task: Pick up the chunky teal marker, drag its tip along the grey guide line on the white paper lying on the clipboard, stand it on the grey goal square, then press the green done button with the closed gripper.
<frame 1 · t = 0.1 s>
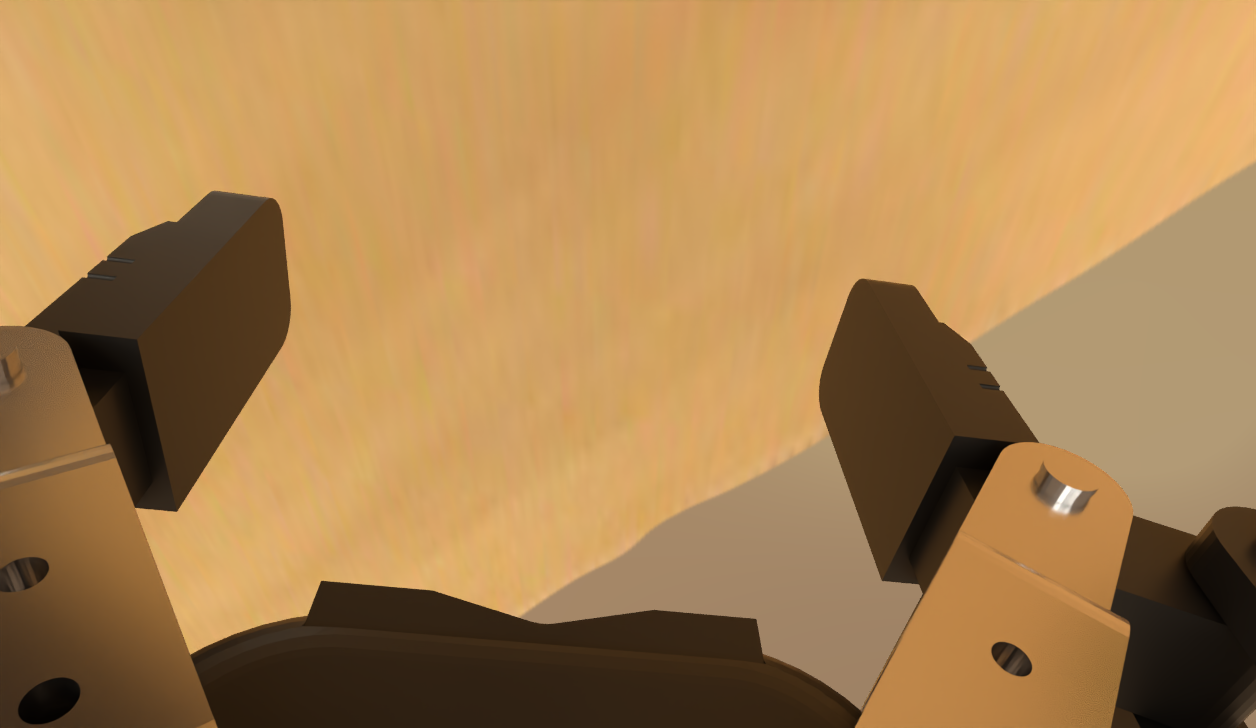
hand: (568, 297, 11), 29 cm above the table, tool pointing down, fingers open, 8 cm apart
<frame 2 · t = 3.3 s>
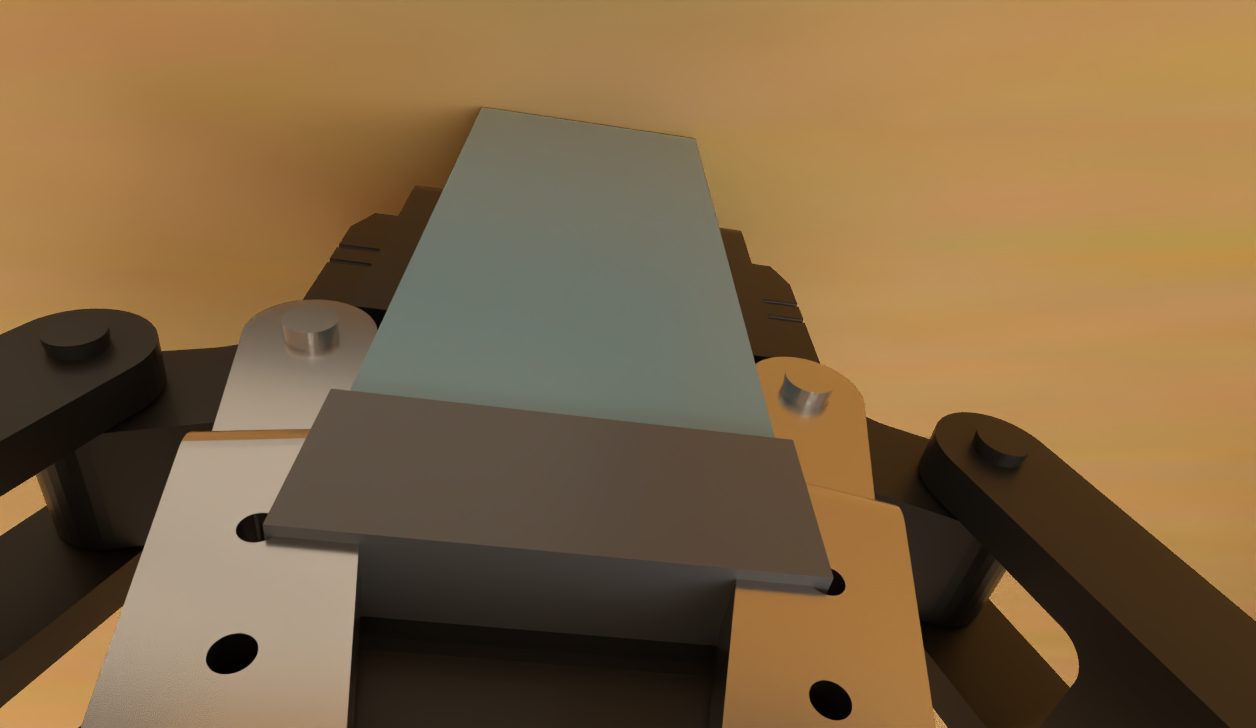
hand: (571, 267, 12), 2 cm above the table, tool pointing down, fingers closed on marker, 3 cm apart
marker: (577, 221, 13), on the table, touching gripper
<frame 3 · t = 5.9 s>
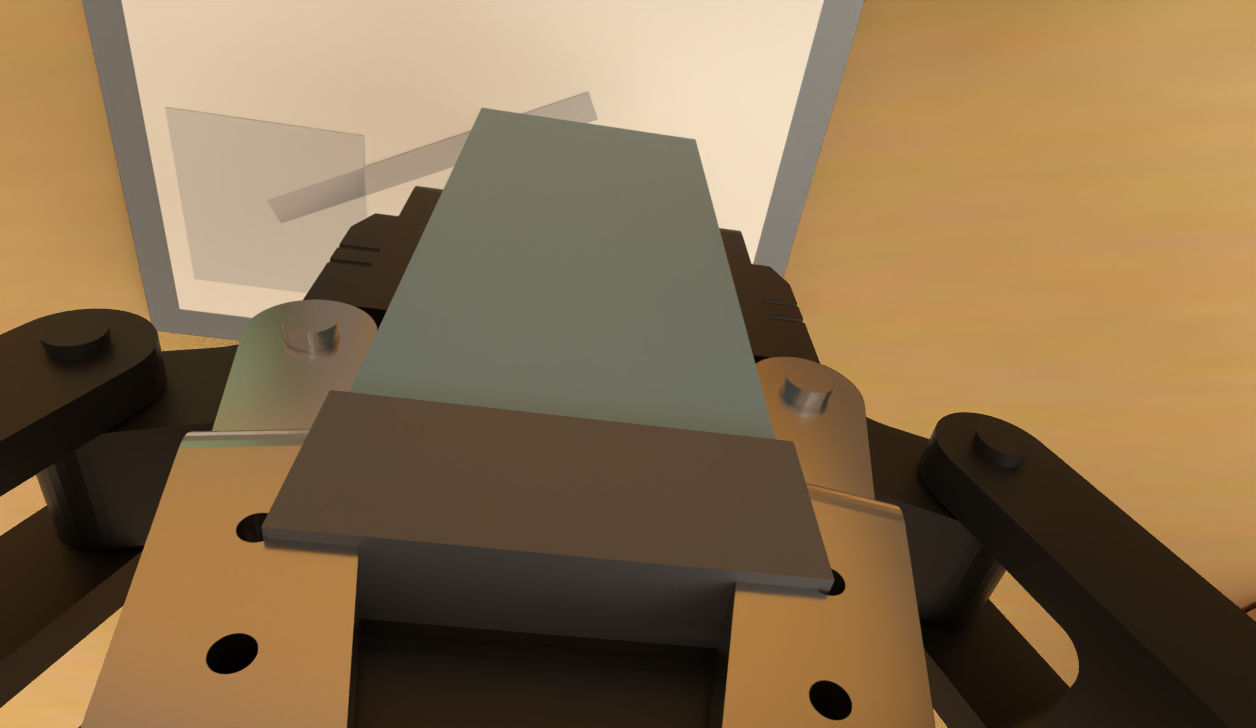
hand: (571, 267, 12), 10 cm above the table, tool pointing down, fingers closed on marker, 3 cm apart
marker: (577, 222, 13), point 9 cm above the table, touching gripper
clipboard: (474, 150, 21), on the table
when the fingers open (3 cm above the table, at t = 8.7 s): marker stays where it is, resting on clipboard.
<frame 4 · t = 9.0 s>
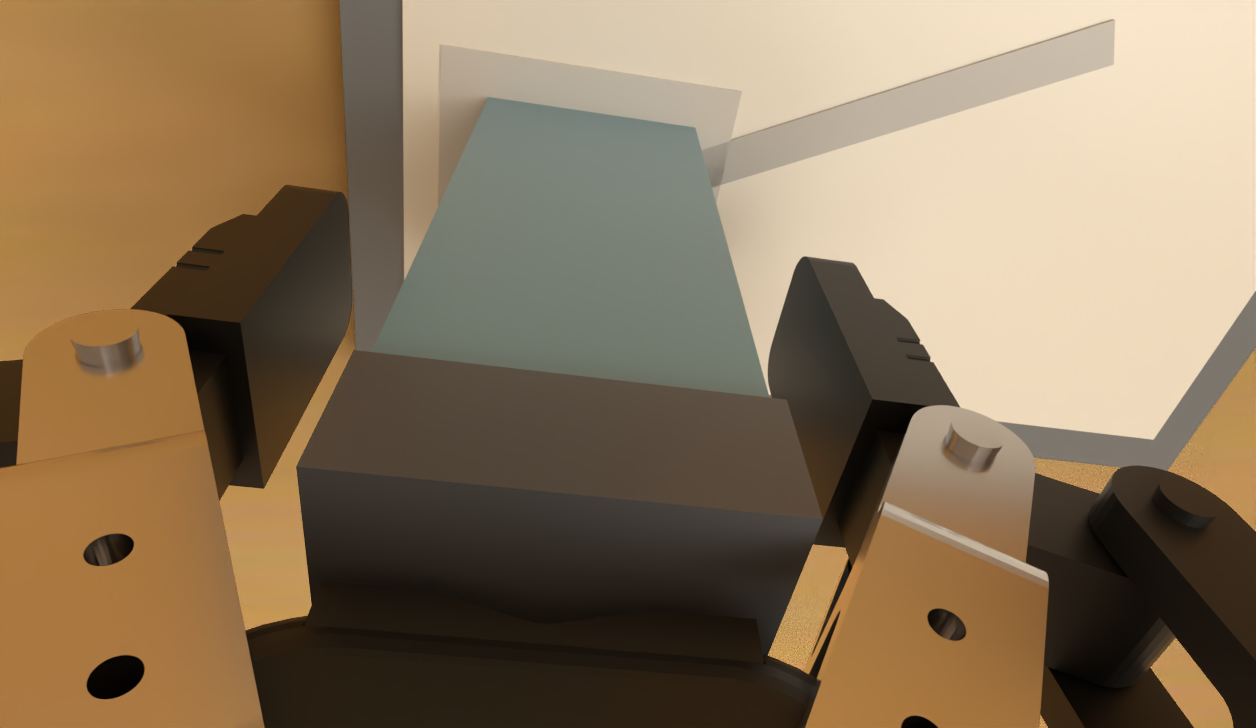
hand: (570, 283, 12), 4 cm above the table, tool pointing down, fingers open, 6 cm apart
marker: (581, 208, 14), point 1 cm above the table, touching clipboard
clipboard: (867, 116, 14), on the table
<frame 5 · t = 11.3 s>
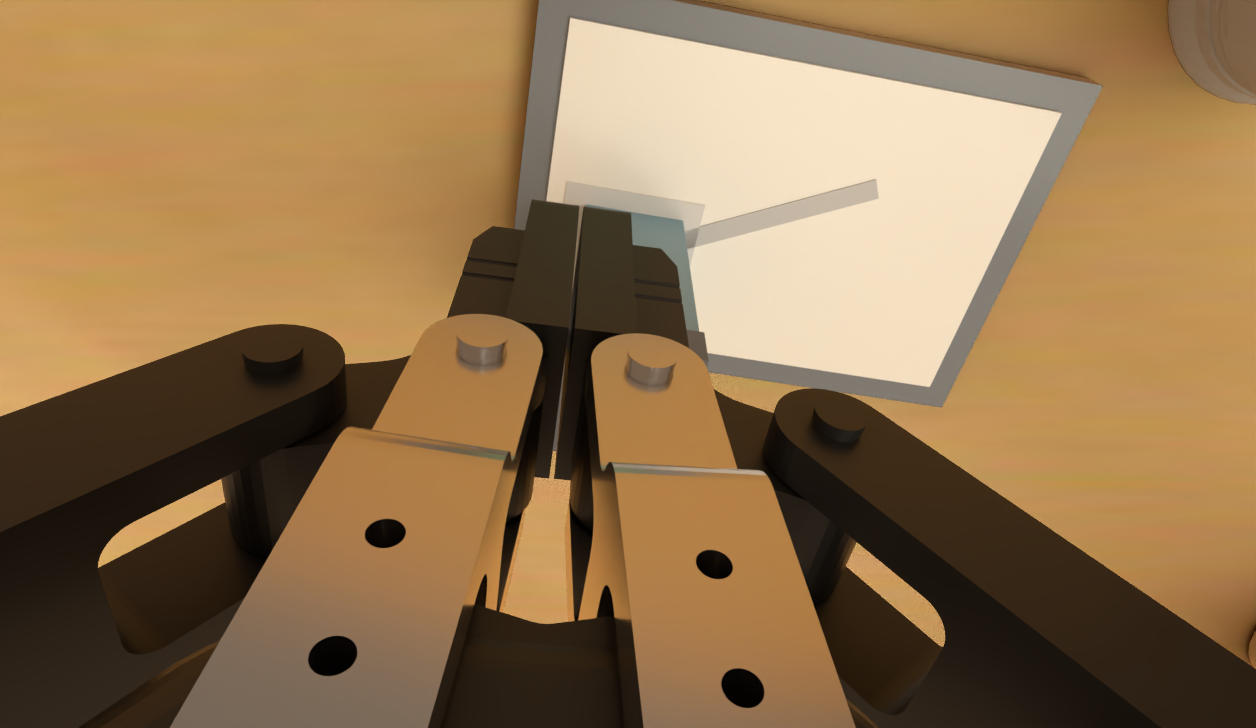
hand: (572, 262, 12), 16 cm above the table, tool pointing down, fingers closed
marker: (626, 256, 28), point 1 cm above the table, touching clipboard
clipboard: (769, 214, 29), on the table
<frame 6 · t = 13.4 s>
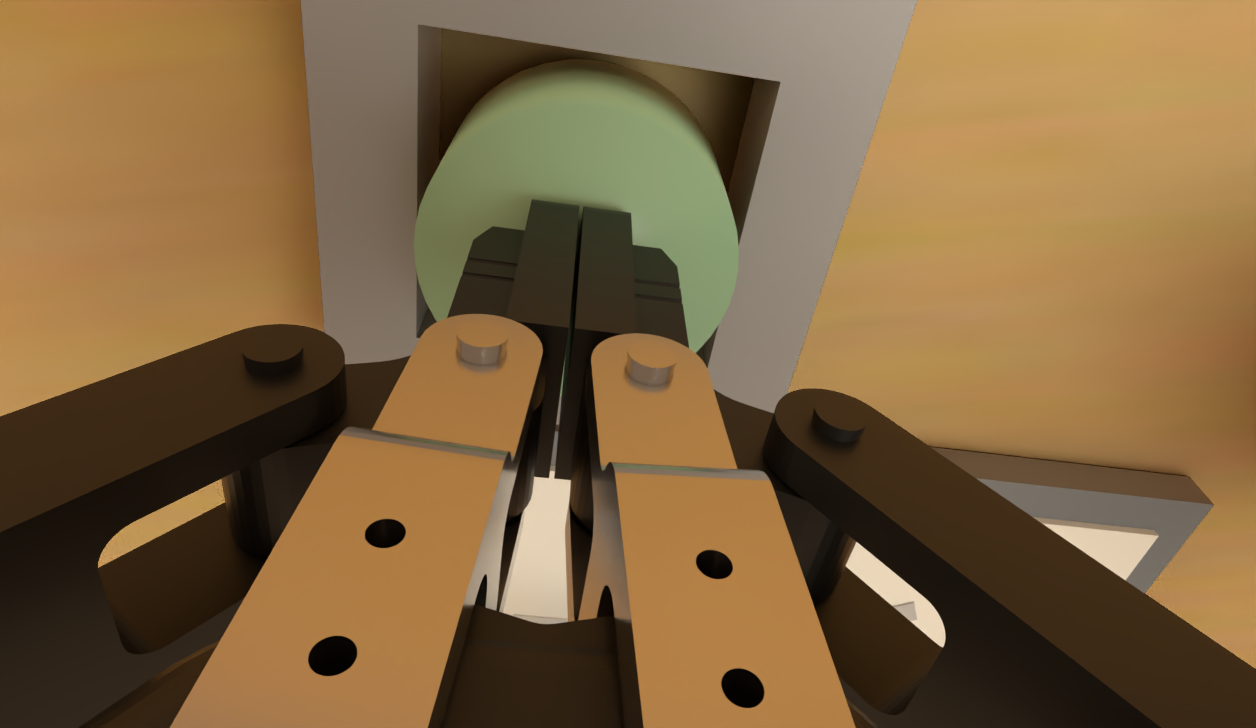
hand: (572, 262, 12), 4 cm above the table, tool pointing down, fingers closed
done button: (580, 232, 13), point 2 cm above the table, slide at 0.8 cm, touching gripper
button housing: (585, 179, 15), on the table
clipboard: (776, 611, 23), on the table
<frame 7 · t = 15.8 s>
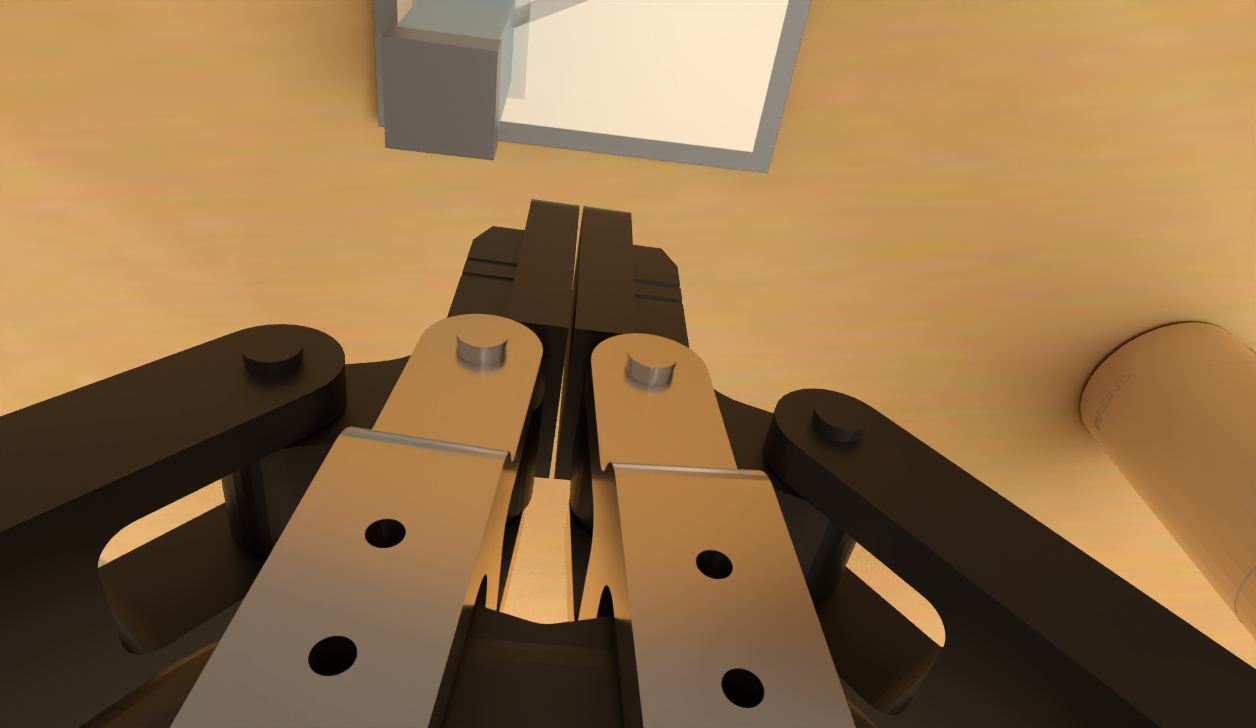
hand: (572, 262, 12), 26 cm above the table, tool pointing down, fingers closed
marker: (472, 34, 33), point 1 cm above the table, touching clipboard
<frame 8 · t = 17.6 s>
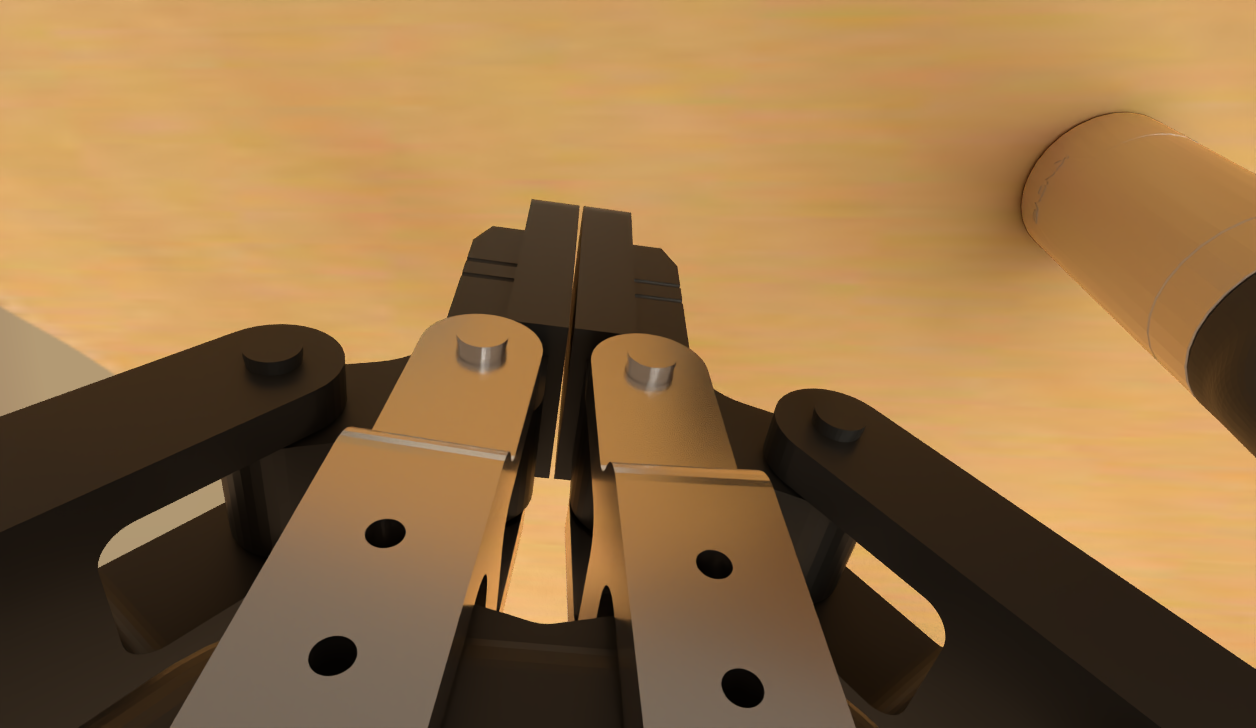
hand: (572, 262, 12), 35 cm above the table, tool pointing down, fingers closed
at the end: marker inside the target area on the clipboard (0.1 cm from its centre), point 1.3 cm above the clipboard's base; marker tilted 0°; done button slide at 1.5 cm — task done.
